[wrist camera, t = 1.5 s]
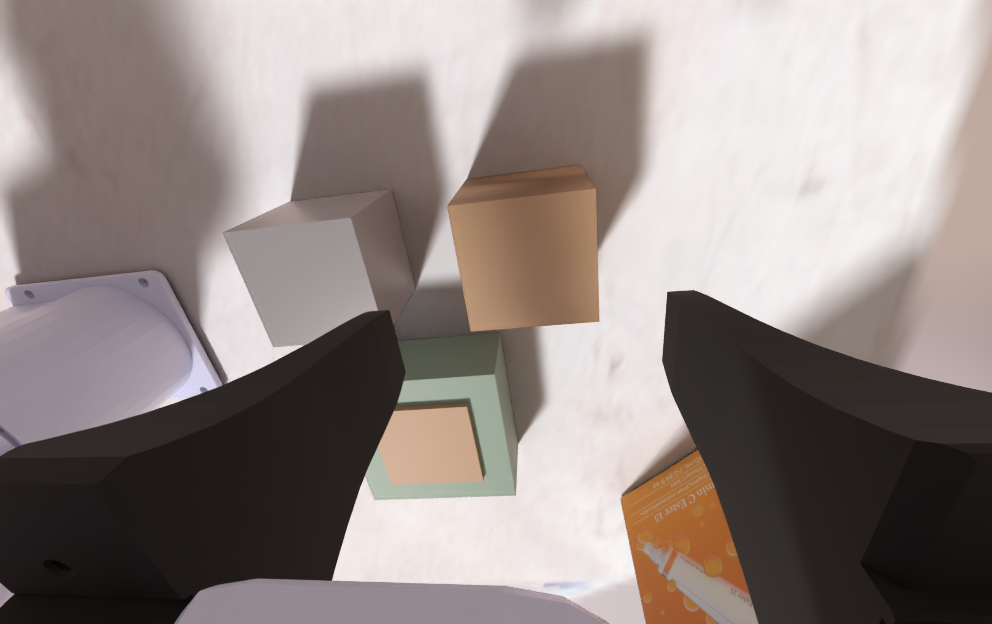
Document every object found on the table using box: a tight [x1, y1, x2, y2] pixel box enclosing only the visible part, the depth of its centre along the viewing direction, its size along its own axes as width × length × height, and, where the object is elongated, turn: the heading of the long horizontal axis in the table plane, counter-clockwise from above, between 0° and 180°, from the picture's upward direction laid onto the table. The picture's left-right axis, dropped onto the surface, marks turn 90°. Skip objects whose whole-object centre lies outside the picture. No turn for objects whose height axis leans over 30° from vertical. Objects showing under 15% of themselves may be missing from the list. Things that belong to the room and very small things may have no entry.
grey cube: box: [223, 189, 416, 347], centre depth 19 cm, size 5×5×5 cm
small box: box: [621, 450, 758, 624], centre depth 21 cm, size 8×6×13 cm
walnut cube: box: [447, 165, 599, 332], centre depth 17 cm, size 5×5×5 cm
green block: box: [365, 332, 518, 500], centre depth 23 cm, size 8×8×4 cm
